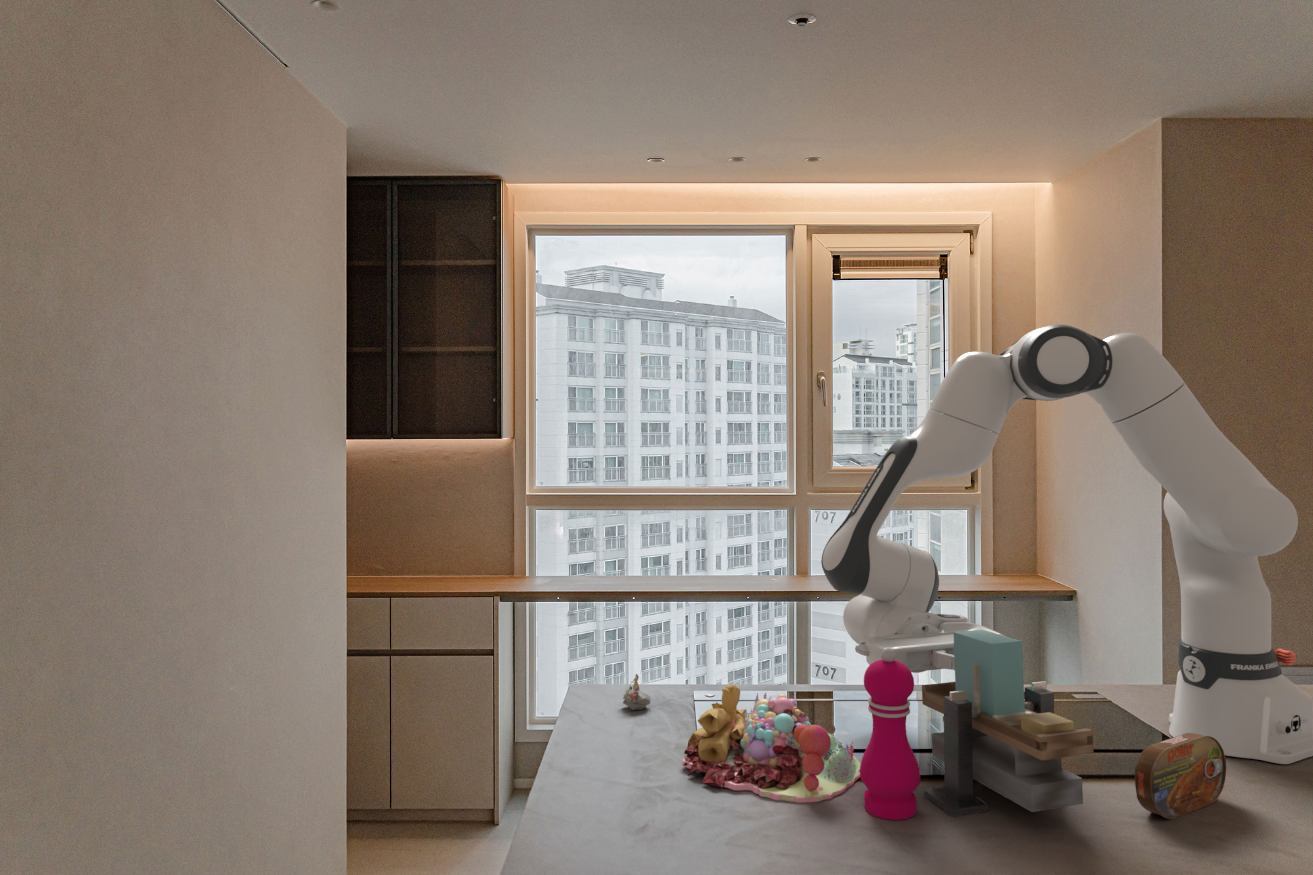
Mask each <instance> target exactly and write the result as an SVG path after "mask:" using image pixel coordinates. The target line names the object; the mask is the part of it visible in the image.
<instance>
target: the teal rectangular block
mask: <svg viewBox="0 0 1313 875" xmlns="http://www.w3.org/2000/svg"><path fill="white" fill-rule="evenodd" d="M953 635H954V661H955V671H954V679H955V680H954V682H955V686H956V691H962V690H964V691H966V700H968V701H970V702H972V709H973V708H975V701H974V675H973V665H975V664H977V665H979V679H980V704H981V713H983V714H985V715H987V716H990V717H992V716H994V715H1003V714H1011V713H1019V712H1025V705H1024V702H1025V687H1024V686H1025V685H1024V683H1025V682H1024V659H1023V641H1022V640H1019V639H1016V638H1012V637H1011V636H1010V637H1009V636H1006V635H1004V634H1002V635H999V634H996V633H993V632H989V631H986V630H971V631H960V632H953ZM1003 635H1004V636H1003Z"/></svg>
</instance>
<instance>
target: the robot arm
mask: <svg viewBox="0 0 1313 875" xmlns="http://www.w3.org/2000/svg"><path fill="white" fill-rule="evenodd" d="M1083 393H1084V394H1087V395H1089V396H1090V397H1091V398H1092V399H1093V400H1095V402H1097V404H1099V405H1100V407H1101V408H1102V410H1103V412H1104V413H1105V415H1106V416H1107V417H1108V419H1109V421H1110V422H1111V423H1112V425H1113V426H1114V428H1115V429H1116V431H1117V432H1118V434H1119V435H1120V436H1121V438H1122V439H1123V441H1124V443H1125V444H1126V446H1127V447H1128V448H1129V449H1130V451H1131V453H1132V455H1134V457H1135V458H1136V460H1137V461H1138V462H1139V464H1140V466H1141V467H1142V468H1143V469H1145V471H1147V472H1148V474H1150V475H1151V476H1152V477H1153V478H1154V479H1155V481H1157V482H1158V483H1159V485H1160V486H1162V487H1163V489H1164V490H1166V493H1165V496H1164V499H1163V512H1164V516H1165V518H1166V520H1167V521H1168V524H1169V530H1170V537H1171V542H1172V547H1173V553H1174V559H1175V562H1176V569H1177V573H1178V578H1179V585H1180V588H1179V589H1180V604H1181V605H1180V614H1181V615H1180V617H1181V618H1180V622H1181V623H1180V624H1181V626H1180V628H1181V629H1180V630H1181V631H1180V634H1181V637H1180V638H1179V640H1178V641H1177V643H1178V644H1177V646H1178V647H1177V650H1176V653H1177V663H1178V665H1179V670H1178V672H1177V676H1176V684H1175V691H1174V692H1175V693H1174V702H1173V711H1172V712H1170V713H1169V715H1168V722H1169V723H1170V726H1169V728H1168V733H1169V734H1170V735H1171V737H1172V738H1173V737H1176V736H1179V735H1182V734H1185V733H1194V734H1199V735H1203V736H1210V737H1213V738H1215V739H1216V740H1217V741H1218V742H1219V743H1220V745H1221V747H1222V749H1223V751H1224V754H1225V756H1228V757H1233V758H1234V757H1235V758H1241V759H1243V758H1244V759H1253V760H1261V761H1264V762H1270V763H1274V764H1280V765H1290V764H1292V763H1296V762H1298V761H1302V760H1304V759H1305V760H1306V759H1307V758H1310V757H1313V697H1311V695H1309V694H1308V693H1306V692H1305V691H1304V690H1302V689H1301V688H1300V687H1298V686H1297V684H1295V683H1294V682H1292V681H1291V680H1290V679H1288V678H1287V677H1286V676H1284V675H1285V674H1283V670H1282V668H1281V665H1280V663H1283V664H1286V665H1289V666H1293V665H1294V664H1295V662H1296V658H1297V657H1296V653H1295V652H1294V651H1292V650H1285V649H1283V648H1282V647H1281V648H1277V649H1274V648H1272V596H1271V592H1270V589H1269V587H1268V586H1267V584H1266V581H1265V580H1264V577H1263V574H1262V573H1263V572H1262V570H1261V567H1260V566H1261V565H1260V564H1259V559H1258V557H1265V556H1270V555H1274V554H1276V553H1278V552H1281V551H1282V550H1283V549H1285V548H1286V547H1287V546H1289V545H1290V543H1291V542H1292V540H1293V539H1294V537H1295V535H1296V534H1297V530H1298V526H1299V519H1298V512H1297V509H1296V508H1295V506H1294V504H1293V502H1292V501H1291V500H1290V498H1288V497H1287V496H1286V495H1285V494H1283V493H1282V492H1281V491H1280V490H1278V488H1276V487H1275V486H1274V485H1273V484H1272V483H1271V482H1269V480H1268V479H1267V478H1266V477H1265V476H1264V475H1263V474H1262V472H1261V471H1259V470H1258V468H1256V466H1255V465H1254V464H1253V463H1252V462H1251V461H1250V460H1249V459H1248V458H1247V457H1246V456H1245V454H1244V453H1242V451H1240V450H1239V449H1238V447H1237V446H1235V444H1233V442H1231V441H1230V440H1229V438H1228V437H1227V436H1226V435H1224V433H1223V432H1222V431H1221V430H1220V429H1219V427H1218V426H1217V425H1216V424H1215V423H1214V421H1213V420H1212V418H1211V417H1210V416H1209V415H1208V413H1207V412H1206V411H1205V409H1204V407H1203V406H1202V405H1201V404H1200V402H1199V400H1198V399H1197V398H1196V396H1195V395H1194V394H1193V392H1192V391H1191V389H1190V388H1189V387H1188V385H1187V384H1186V382H1185V381H1184V380H1183V378H1182V376H1181V375H1180V374H1179V373H1178V372H1177V370H1176V369H1175V368H1174V366H1172V364H1171V363H1170V362H1169V361H1168V360H1167V358H1166V357H1164V355H1163V354H1162V353H1161V352H1160V351H1159V350H1157V348H1156V347H1155V346H1154V345H1153V344H1152V343H1150V341H1149V340H1147V339H1146V338H1145V337H1144V336H1142V335H1140V334H1138V333H1135V332H1120V333H1115V334H1112V335H1110V336H1108V337H1105V338H1104V339H1101V338H1099V337H1097V336H1095V335H1092V334H1090V333H1088V332H1086V331H1084V330H1082V329H1079V328H1077V327H1075V326H1072V325H1067V324H1051V325H1050V324H1049V325H1047V326H1043V327H1038V328H1036V329H1033V330H1031V331H1029V332H1027V333H1025V335H1023V336H1021V337H1020V338H1019V339H1018V340H1016V341H1014V343H1013V344H1011V345H1010V346H1009V347H1008V348H1006V349H1005V350H1004V351H1002V353H1000V354H999V355H998V354H994V353H990V352H985V351H968V352H965V353H963V354H961V355H959V357H957V358H956V360H955V361H954V362H953V364H952V365H951V366H950V368H949V369H948V372H946V375H945V376H944V378H943V380H942V381H941V383H940V385H939V386H938V389H937V390H936V393H935V395H934V397H933V399H932V401H931V403H930V406H929V409H928V410H927V412H926V414H925V417H924V418H923V420H922V421H921V423H920V424H918V426H917V427H916V429H914V430H913V432H911V433H910V434H908V436H903V437H899V438H898V439H897V440H896V441H894V442H893V443H892V444H891V446H890V447H889V448H888V450H887V451H886V452H885V454H884V456H883V457H882V458H881V460H880V461H879V463H878V464H877V466H876V468H875V470H874V472H873V473H872V475H871V476H870V478H869V480H868V482H867V483H866V484H865V486H864V488H863V490H862V491H861V493H860V495H859V496H858V497H857V500H856V501H855V502H854V505H853V506H852V508H851V509H850V511H849V513H848V514H847V516H846V517H845V519H844V521H843V522H842V523H841V524H840V525H839V527H838V528H837V529H836V530H835V532H833V534H832V535H831V536H830V538H829V539H828V541H827V543H826V544H825V546H824V548H823V552H822V553H821V559H820V560H821V562H820V563H821V568H822V570H823V574H824V576H825V577H826V579H827V582H829V584H830V586H831V587H832V588H833V589H834V590H835V591H838V592H841V593H847V594H851V595H856V596H854V597H852V598H851V599H850V600H849V601H848V602H847V603H846V605H845V607H844V610H843V612H842V613H843V615H842V618H843V619H842V620H843V624H844V628H845V630H846V632H847V635H849V637H850V638H851V639H852V640H853V642H855V643H856V644H857V645H855V648H854V649H855V650H854V651H855V652H856V653H857V654H859V655H861V656H865V657H866V659H865V661H866V663H867V664H868V666H870V665H871V664H872V663H873V662H875V661H878V660H883V659H882V657H881V652H882V651H883V650H884V649H885V648H891V649H893V650H894V651H895V653H896V658H895V661H899V662H901V663H903V664H904V665H906V666H907V667H908V668H909V670H910V671H911V673H914V674H915V673H916V674H919V673H924V672H927V671H934V670H935V671H936V670H951V671H954V672H955V661H954V635H953V632H960V631H971V630H986V631H989V632H993V633H996V634H999V635H1003V636H1005V635H1004V634H1003V633H1000V632H998V631H996V630H994V629H991V628H989V627H986V626H984V625H981V624H977V623H974V622H969V620H968V618H967V617H966V616H964V615H960V614H944V613H931V612H930V611H931V610H932V608H933V605H934V603H935V602H936V599H937V596H938V592H939V588H940V576H939V569H938V567H937V563H936V562H935V560H934V558H933V556H932V555H931V554H930V553H929V552H928V551H926V550H923V549H920V548H917V547H914V546H911V545H909V544H906V543H900V542H897V541H894V540H891V539H887V538H884V537H882V536H880V535H879V536H878V533H879V532H880V529H881V528H882V526H883V524H884V523H885V521H886V519H887V518H888V516H889V514H890V513H891V511H892V510H893V508H894V506H895V505H896V503H897V501H898V499H899V498H900V496H901V495H902V494H903V492H904V491H905V490H907V488H909V487H910V486H912V485H914V484H917V483H919V482H924V481H927V480H938V479H955V478H959V477H963V476H964V477H965V476H966V475H970V474H971V473H973V472H975V471H977V470H978V469H980V468H981V467H982V466H983V465H984V464H986V462H987V460H988V459H989V458H990V456H991V453H993V450H994V448H995V445H996V443H997V440H998V438H999V436H1000V435H999V434H1000V433H1001V430H1002V428H1003V425H1004V423H1005V420H1006V418H1007V416H1008V414H1009V413H1010V411H1011V409H1012V408H1013V407H1014V405H1016V404H1017V403H1018V402H1019V401H1020V400H1029V401H1042V402H1043V401H1045V402H1048V401H1049V402H1051V401H1057V400H1061V399H1064V398H1065V399H1066V398H1071V397H1074V396H1077V395H1080V394H1083Z"/></svg>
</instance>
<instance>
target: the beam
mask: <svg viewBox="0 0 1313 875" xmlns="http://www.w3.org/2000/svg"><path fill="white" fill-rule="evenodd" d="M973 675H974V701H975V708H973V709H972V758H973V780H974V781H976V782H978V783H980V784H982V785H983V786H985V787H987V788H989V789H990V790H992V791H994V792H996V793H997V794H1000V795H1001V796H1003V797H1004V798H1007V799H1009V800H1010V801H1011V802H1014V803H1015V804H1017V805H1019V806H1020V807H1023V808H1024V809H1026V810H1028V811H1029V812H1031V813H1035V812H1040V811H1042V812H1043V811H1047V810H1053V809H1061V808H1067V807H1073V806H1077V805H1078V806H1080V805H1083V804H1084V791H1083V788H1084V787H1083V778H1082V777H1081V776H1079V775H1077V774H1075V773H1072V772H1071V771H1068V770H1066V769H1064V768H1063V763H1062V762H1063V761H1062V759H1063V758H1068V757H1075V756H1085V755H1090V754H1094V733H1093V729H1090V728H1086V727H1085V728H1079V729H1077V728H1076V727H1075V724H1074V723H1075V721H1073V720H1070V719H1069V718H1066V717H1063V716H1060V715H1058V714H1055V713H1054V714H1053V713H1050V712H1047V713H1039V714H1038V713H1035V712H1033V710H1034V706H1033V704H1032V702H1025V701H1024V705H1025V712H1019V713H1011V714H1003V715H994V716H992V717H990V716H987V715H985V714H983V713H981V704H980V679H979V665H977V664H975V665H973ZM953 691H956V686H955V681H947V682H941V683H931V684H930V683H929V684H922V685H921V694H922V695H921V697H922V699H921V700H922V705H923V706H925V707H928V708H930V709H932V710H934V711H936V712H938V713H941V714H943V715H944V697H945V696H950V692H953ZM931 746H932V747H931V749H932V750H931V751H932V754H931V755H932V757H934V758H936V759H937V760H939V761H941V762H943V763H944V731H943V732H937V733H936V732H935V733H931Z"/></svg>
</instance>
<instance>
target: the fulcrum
mask: <svg viewBox="0 0 1313 875" xmlns="http://www.w3.org/2000/svg"><path fill="white" fill-rule="evenodd" d="M1047 684H1048V682H1047V681H1045V680H1043V681H1035V682H1034V681H1033V682H1031V685H1030V686H1025V687H1024V702H1032V704H1033V706H1034V710H1033V712H1035V713H1038V714H1039V713H1047V712H1050V713H1053V714H1055V692H1053V691H1052V690H1051V691H1050V690H1048V685H1047ZM943 732H944V762H943V765H944V766H943V767H944V771H943V773H944V774H943V775H944V786H939V787H931V788H926V789H925V788H924V790H923V796H924V797H925V799H928V800H929V801H930V802H932V803H933V804H934V805H936V806H937V807H939V808H940V809H941V810H942V811H944V812H945V813H947V815H949V816H951V817H956V816H957V817H958V816H962V815H969V814H976V813H981V812H987V811H988V806H989V805H988V803H986V802H985V801H983V800H982V799H980V797H978V796H976V795H975V794H974V785H973V784H974V783H973V782H974V781H973V780H974V779H973V758H972V702H970V701H968V700H966V691H964V690H962V691H953V692H950V696H945V697H944V714H943Z"/></svg>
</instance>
